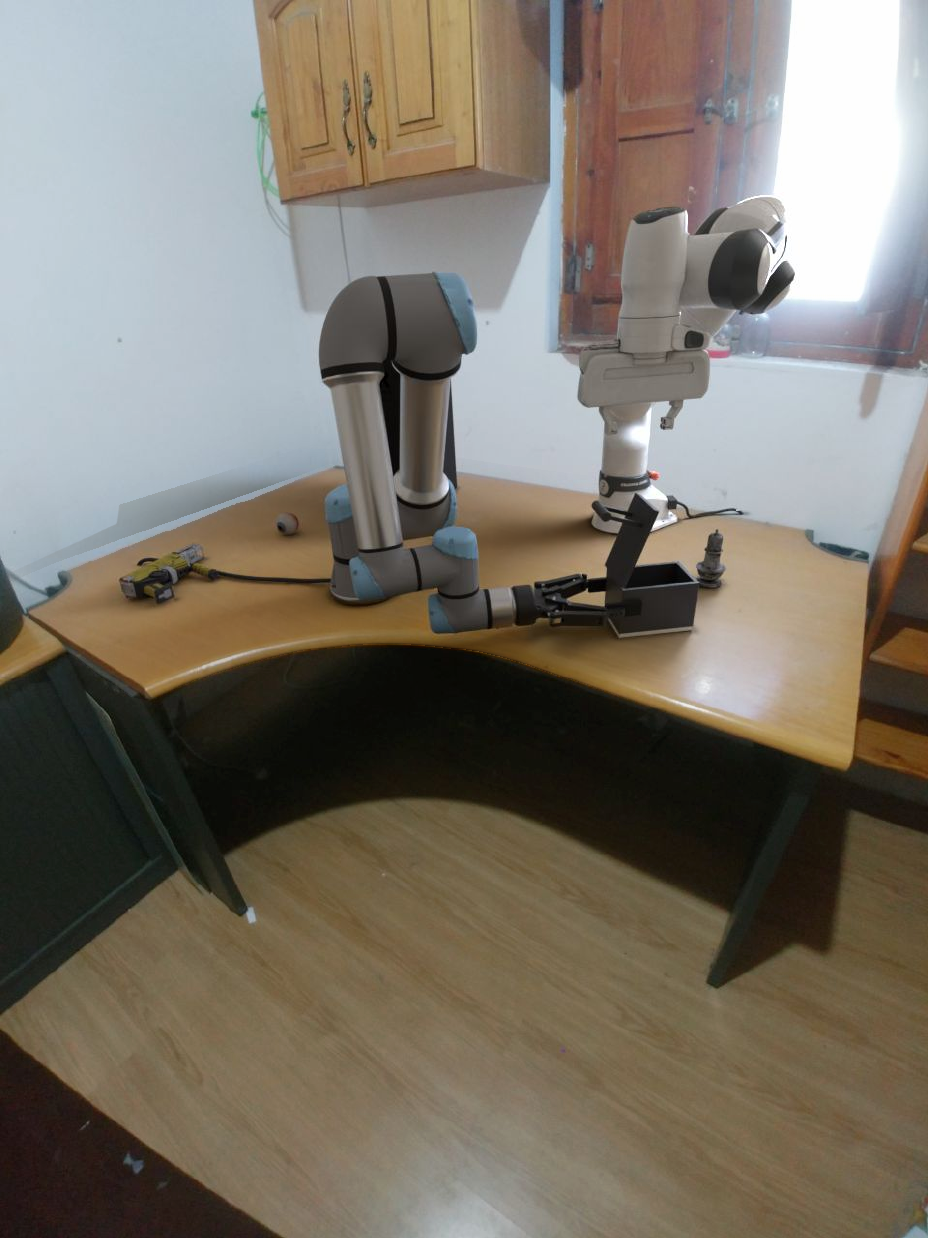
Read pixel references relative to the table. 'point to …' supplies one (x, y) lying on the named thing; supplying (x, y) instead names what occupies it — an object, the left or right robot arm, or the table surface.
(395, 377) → the black computer tower
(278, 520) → the eyeball
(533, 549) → the table surface
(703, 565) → the salt shaker
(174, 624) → the table surface
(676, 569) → the chest
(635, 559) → the lid
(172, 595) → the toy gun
